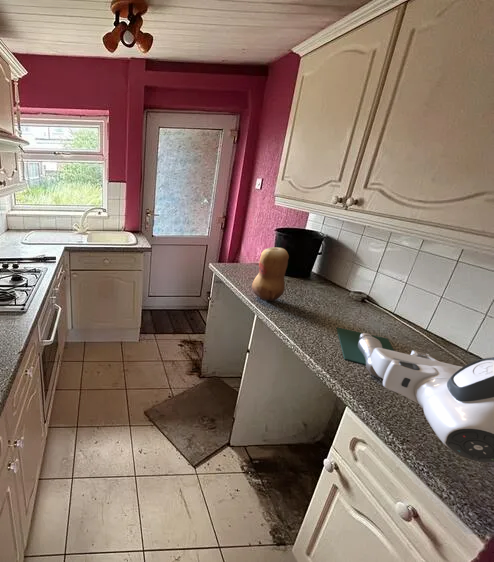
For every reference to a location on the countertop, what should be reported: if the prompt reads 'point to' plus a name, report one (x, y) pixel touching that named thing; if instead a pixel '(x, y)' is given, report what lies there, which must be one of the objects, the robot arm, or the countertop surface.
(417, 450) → the countertop surface
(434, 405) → the robot arm
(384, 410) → the countertop surface
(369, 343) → the plastic bottle
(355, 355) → the rubber mat
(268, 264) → the butternut squash
